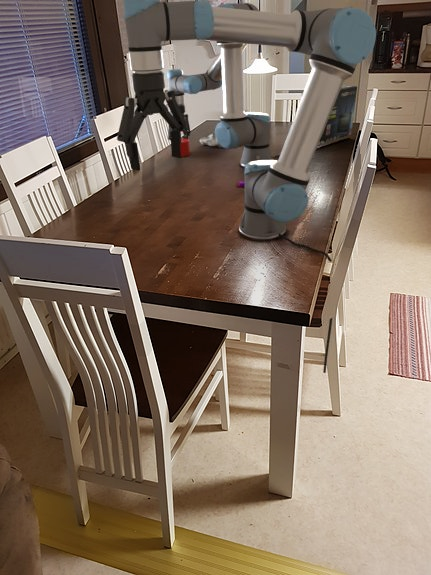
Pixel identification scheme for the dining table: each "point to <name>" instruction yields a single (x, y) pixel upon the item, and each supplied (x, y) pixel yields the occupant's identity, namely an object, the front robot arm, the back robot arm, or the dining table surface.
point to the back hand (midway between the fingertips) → (180, 151)
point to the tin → (184, 147)
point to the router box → (340, 115)
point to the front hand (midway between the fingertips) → (156, 163)
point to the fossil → (210, 140)
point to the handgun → (241, 183)
